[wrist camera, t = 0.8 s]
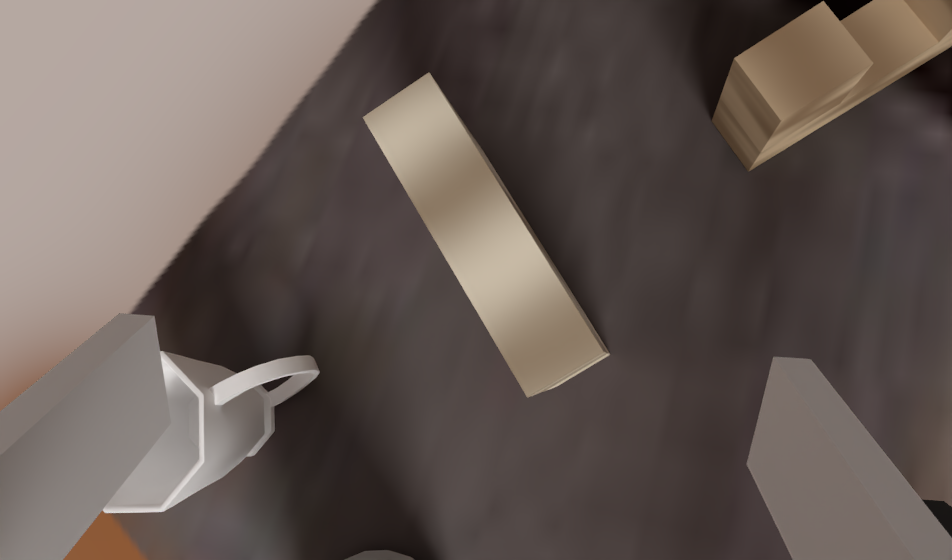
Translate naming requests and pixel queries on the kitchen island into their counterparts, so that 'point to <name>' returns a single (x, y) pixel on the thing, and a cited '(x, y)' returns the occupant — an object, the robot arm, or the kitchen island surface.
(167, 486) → the cup
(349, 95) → the kitchen island surface
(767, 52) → the oak slot board
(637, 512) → the kitchen island surface
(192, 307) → the kitchen island surface
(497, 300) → the cream wavy slab
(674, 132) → the kitchen island surface
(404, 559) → the can
